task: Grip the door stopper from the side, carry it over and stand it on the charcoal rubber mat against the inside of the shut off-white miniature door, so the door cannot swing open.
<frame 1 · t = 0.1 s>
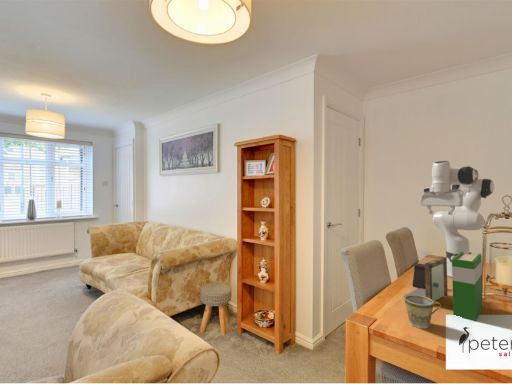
hand: (440, 214, 151), 39 cm above the table, tool pointing down, fingers open, 8 cm apart
door stopper: (421, 286, 150), on the table
threshold mat: (423, 295, 136), on the table
ceramic cup: (423, 325, 108), on the table
door: (438, 282, 131), point 9 cm above the table, hinge at 0.0°
door frame: (437, 299, 131), on the table
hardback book: (468, 311, 118), on the table
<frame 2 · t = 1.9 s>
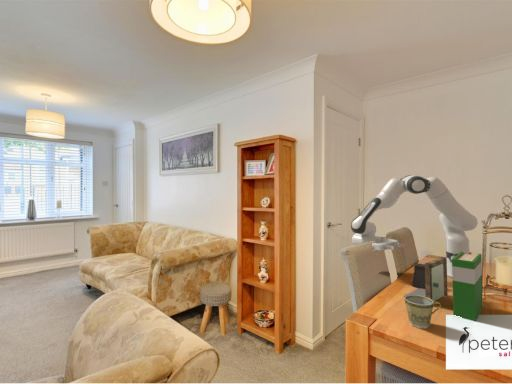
hand: (398, 247, 160), 20 cm above the table, tool horizontal, fingers open, 8 cm apart
nothing on the table moved.
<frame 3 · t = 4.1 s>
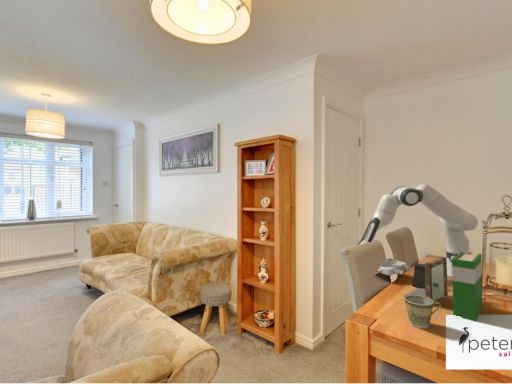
hand: (407, 271, 156), 6 cm above the table, tool horizontal, fingers open, 8 cm apart
nothing on the table moved.
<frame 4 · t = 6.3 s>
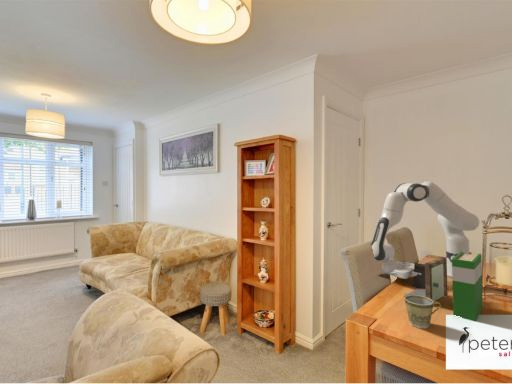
hand: (423, 274, 149), 7 cm above the table, tool horizontal, fingers closed on door stopper
door stopper: (421, 286, 150), on the table, touching gripper
everything else where it was.
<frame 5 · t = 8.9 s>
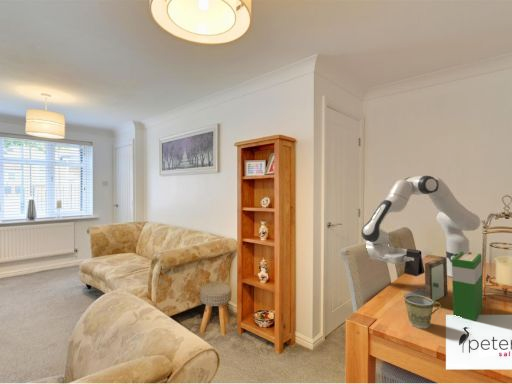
hand: (416, 259, 139), 18 cm above the table, tool horizontal, fingers closed on door stopper
door stopper: (414, 273, 140), point 10 cm above the table, touching gripper
everything else where it was.
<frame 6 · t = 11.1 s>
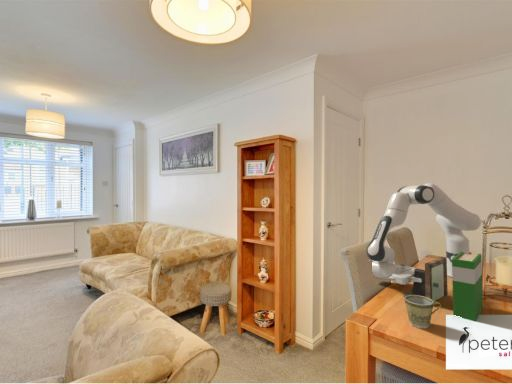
hand: (424, 279, 136), 8 cm above the table, tool horizontal, fingers closed on door stopper, 3 cm apart
door stopper: (422, 294, 137), point 1 cm above the table, touching gripper
everything else where it was.
when the fingers open (8 cm above the table, at t = 11.1 s): door stopper stays where it is, resting on threshold mat.
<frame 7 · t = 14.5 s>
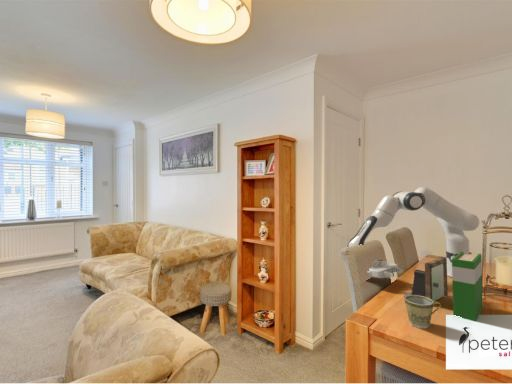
hand: (398, 273, 146), 8 cm above the table, tool horizontal, fingers open, 8 cm apart
door stopper: (422, 295, 137), resting on threshold mat
everything else where it was.
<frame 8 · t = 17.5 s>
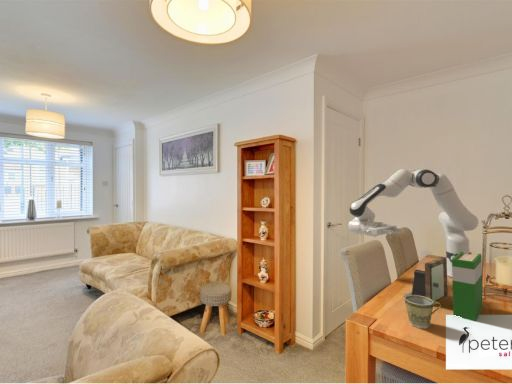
hand: (396, 231, 153), 30 cm above the table, tool horizontal, fingers open, 8 cm apart
nothing on the table moved.
at the end: door stopper inside the target area (0.3 cm from its centre), resting on threshold mat; door stopper tilted 0°; door at +0° (first picture: +0°) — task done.
